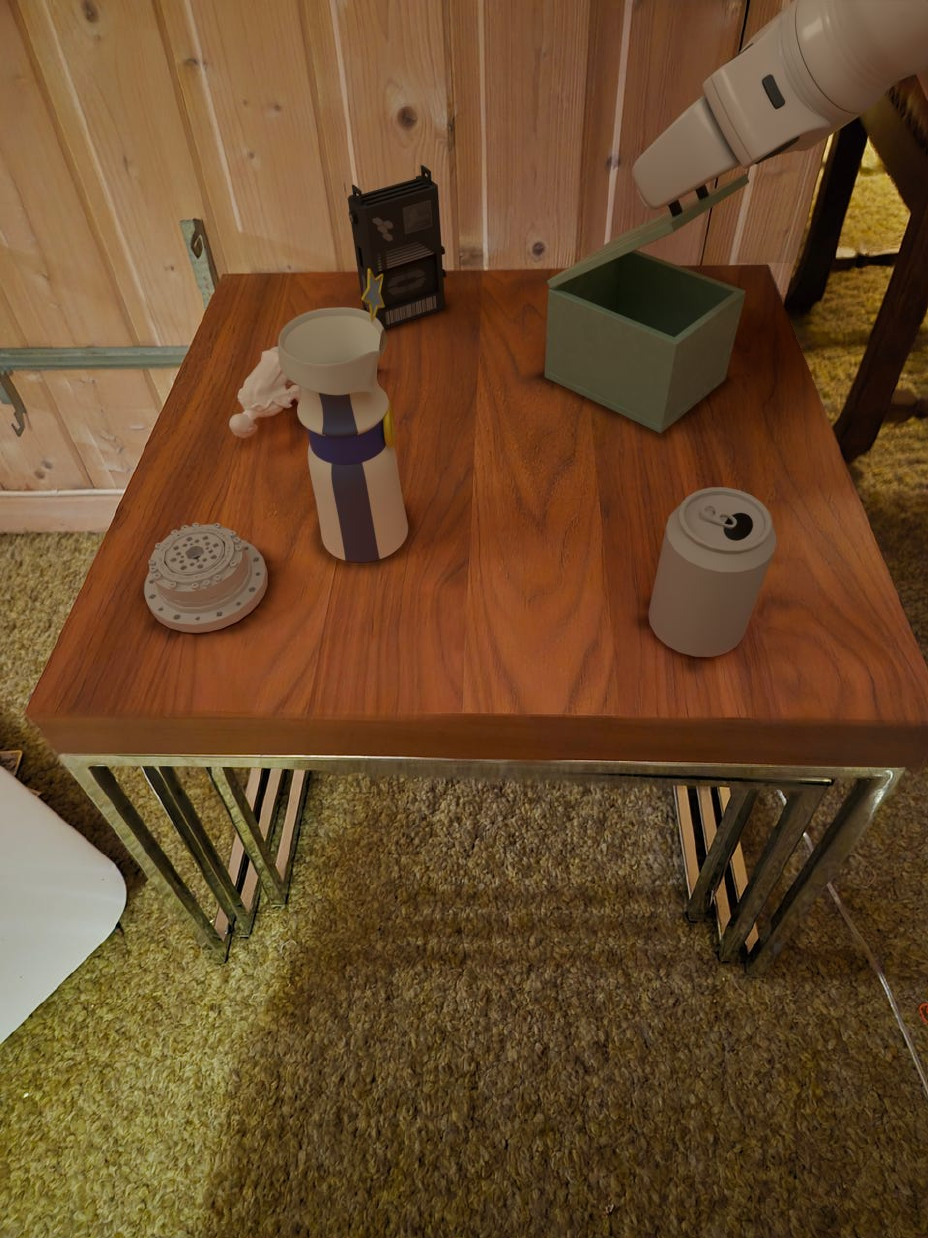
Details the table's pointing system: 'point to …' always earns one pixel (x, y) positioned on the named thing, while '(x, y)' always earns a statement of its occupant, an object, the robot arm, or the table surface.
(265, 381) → the figurine
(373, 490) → the water bottle
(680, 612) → the can
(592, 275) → the green box
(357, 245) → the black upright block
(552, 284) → the box lid
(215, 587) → the mechanical component
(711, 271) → the table surface
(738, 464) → the table surface
